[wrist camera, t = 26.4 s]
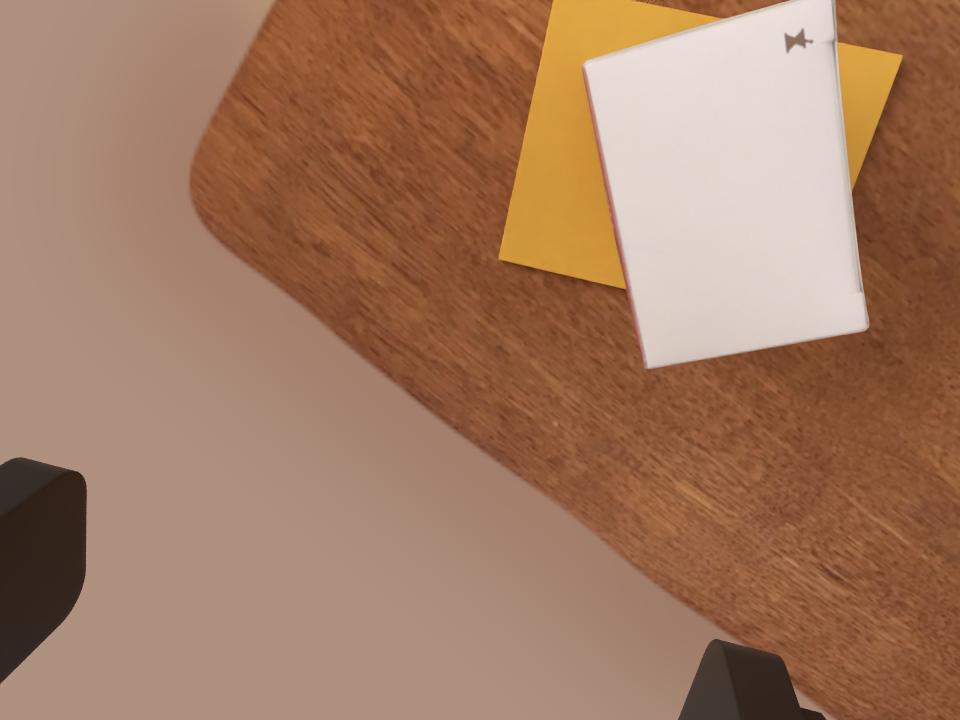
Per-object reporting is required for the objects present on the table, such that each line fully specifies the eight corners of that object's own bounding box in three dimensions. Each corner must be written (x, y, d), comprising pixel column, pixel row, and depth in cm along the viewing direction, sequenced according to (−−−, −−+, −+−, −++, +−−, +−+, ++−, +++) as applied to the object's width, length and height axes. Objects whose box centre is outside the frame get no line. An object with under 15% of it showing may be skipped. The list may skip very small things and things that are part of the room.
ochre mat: (499, 257, 30) (498, 259, 29) (556, -14, 26) (556, -16, 26) (797, 327, 29) (799, 330, 28) (899, 56, 25) (903, 55, 25)
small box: (586, 69, 27) (575, 52, 17) (747, 24, 25) (838, -23, 15) (628, 282, 29) (640, 377, 19) (778, 250, 28) (874, 335, 18)
